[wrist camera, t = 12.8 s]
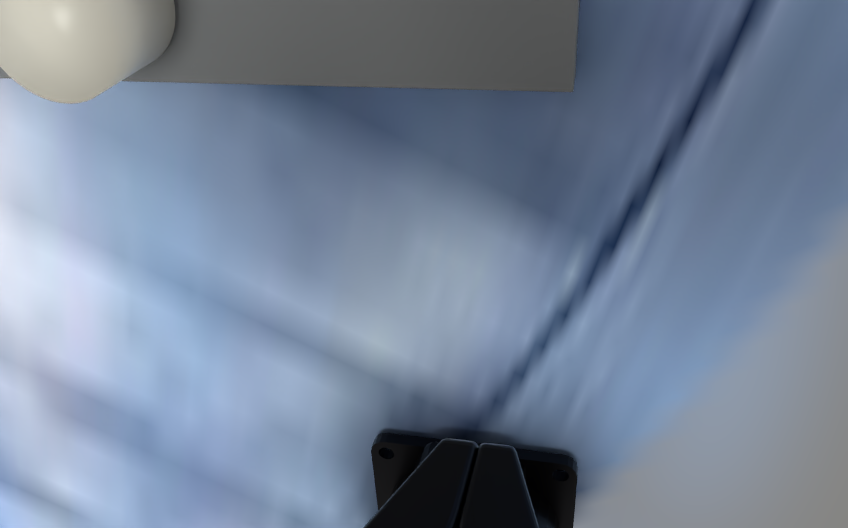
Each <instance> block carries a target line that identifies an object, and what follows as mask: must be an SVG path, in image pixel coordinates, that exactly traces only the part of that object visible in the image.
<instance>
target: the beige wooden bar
mask: <svg viewBox="0 0 848 528" xmlns="http://www.w3.org/2000/svg"><path fill="white" fill-rule="evenodd" d="M174 27H175V5H174V0H0V67H1V68H2V69H3V70H4V71H5V72H6V73H7V74H8V76H10V77H11V78H12V79H13V80H14V81H15V82H17V83H18V84H19V85H21V86H22V87H23V88H25V89H26V90H28V91H30V92H32V93H33V94H35V95H37V96H40V97H42V98H44V99H47V100H50V101H54V102H59V103H68V104H72V103H81V102H85V101H88V100H90V99H93V98H94V97H96V96H98V95H99V94H101V93H103V92H104V91H106V90H107V89H109V88H111V87H112V86H114V85H116V84H117V83H119V82H120V81H122V80H124V79H125V78H127V77H129V76H130V75H132V74H133V73H135V72H137V71H138V70H140V69H142V68H143V67H145V66H146V65H148V64H150V63H151V62H153V61H154V60H156V59H157V58H158V57H159V56H161V55H162V54H163V52H164V51H165V50H166V48H167V47H168V45H169V43H170V41H171V39H172V36H173V32H174Z"/></svg>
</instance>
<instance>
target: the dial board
mask: <svg viewBox="0 0 848 528" xmlns="http://www.w3.org/2000/svg"><path fill="white" fill-rule="evenodd" d="M174 5H175V27H174V32H173V36H172V39H171V41H170V43H169V45H168V47H167V48H166V50H165V51H164V52H163V54H162V55H161V56H159V57H158V58H157V59H156V60H154V61H153V62H151V63H150V64H148V65H146V66H145V67H143V68H142V69H140V70H138V71H137V72H135V73H133V74H132V75H130V76H129V77H127V78H125V79H124V80H122V81H139V82H179V83H220V84H261V85H302V86H343V87H384V88H425V89H466V90H507V91H548V92H573V90H574V83H575V75H576V58H577V40H578V23H579V5H580V0H174ZM0 78H11V77H10V76H8V74H7V73H6V72H5V71H4V70H3V69H2V68H1V67H0Z"/></svg>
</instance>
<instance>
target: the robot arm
mask: <svg viewBox="0 0 848 528" xmlns="http://www.w3.org/2000/svg"><path fill="white" fill-rule="evenodd" d="M386 448H388V449H390V450H388V449H386ZM371 453H372V461H373V470H374V478H375V486H376V494H377V503H378V512H377V513H376V514H375V515H374V516H373V517H372V519H371V520H370V521H369V522H368V523H367V524H366V525H365V526H364V528H573V522H574V510H575V497H576V485H577V471H578V467H577V463H576V462H575V460H574V459H573V458H571V457H569V456H567V455H563V454H556V453H548V452H540V451H532V450H523V449H515V448H514V447H512V446H509V445H501V444H493V443H482V444H476V443H475V442H474V441H468V440H460V439H451V438H446V439H443V440H441V439H432V438H424V437H416V436H407V435H399V434H391V433H382V434H380V435H378V436H377V437H376V438H375V440H374V443H373V446H372V450H371ZM557 470H564V471H562V472H561V471H557Z"/></svg>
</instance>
